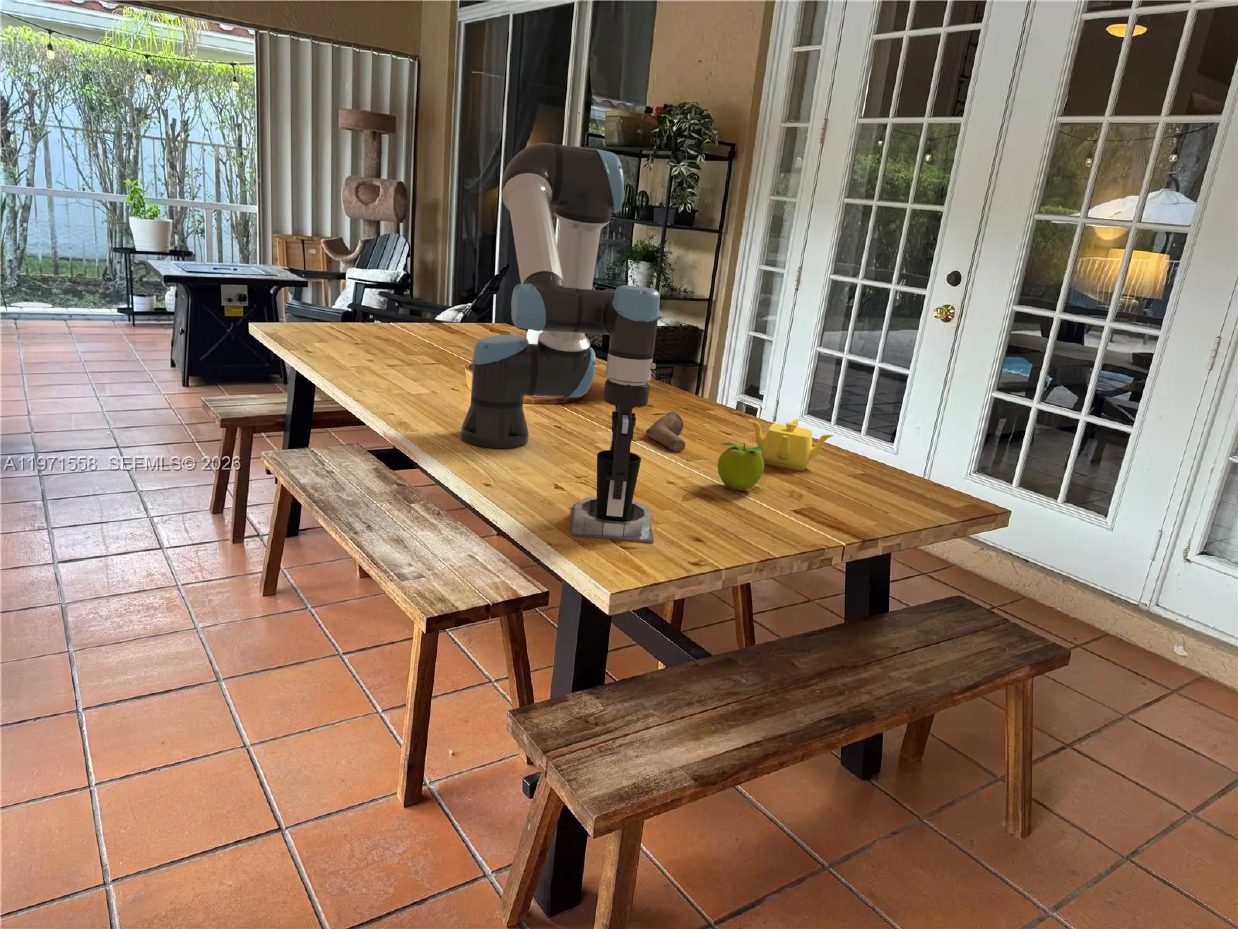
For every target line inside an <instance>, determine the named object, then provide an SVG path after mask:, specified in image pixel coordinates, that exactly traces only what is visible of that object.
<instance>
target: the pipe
mask: <svg viewBox="0 0 1238 929" xmlns="http://www.w3.org/2000/svg"><path fill="white" fill-rule="evenodd" d="M683 430H684V421H683V418H682V417H681V416H680V415H679V413H677V412H674V411H669V412H667V413H665V415H664V416H662V417H660V418H659V419H657V420H656V421H655V422H654V423H653V424H652V425H651V426H649V428H647V429H646V430H645V435H646V436H648V437H649V438H651V439H652V440H654V441H656V442H658V443H659V444H660V445H662V446H663V447H666V448H667V449H669V450H670V451H672V452H674V453H678V452H679V453H680V452H682V451H684V450H685V449H686V442H685V441H684V440H683V438H681V437H680V435H681V434H682V431H683Z"/></svg>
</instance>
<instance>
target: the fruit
mask: <svg viewBox="0 0 1238 929" xmlns="http://www.w3.org/2000/svg"><path fill="white" fill-rule="evenodd" d="M720 445H723V446H731V447H729V448H727V449H725V450H724V451H723V452H722V453H721V454H720V456H719V457H718V460H717V474H718V476H719V478H720V479H721V482H723V484H724V485H725V486H726V487H728V488H729V489H732V490H734V491H740V492H741V491H746V490H749V489H751V488H752V487H754V486H756V484H757V483H758V482H759V481H760V479H761V477H762V476H763V473H764V471H765V470H764V469H765V464H764V460H763V458H762V455H761V452H764V450H763V449H762V448H761V447H758V446H754V447H749V446H746V443H745V442H743V445H737V444H735V443H731V442H729V441H728V442H723V443H722V442H721V443H720Z"/></svg>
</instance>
